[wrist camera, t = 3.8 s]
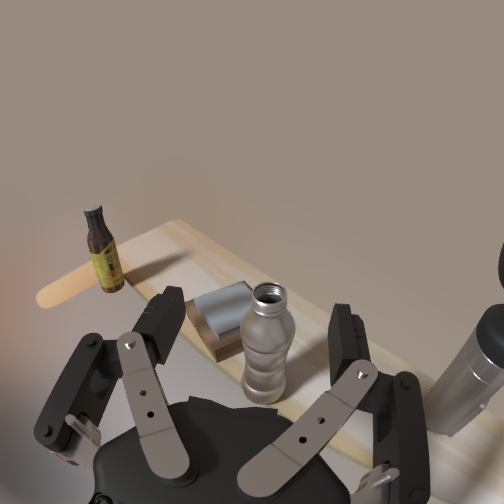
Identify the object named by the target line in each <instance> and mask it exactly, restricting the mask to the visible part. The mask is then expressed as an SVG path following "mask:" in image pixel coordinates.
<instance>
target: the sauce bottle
mask: <svg viewBox="0 0 504 504" xmlns="http://www.w3.org/2000/svg"><path fill="white" fill-rule="evenodd" d="M102 211H103V210H102V206H101V205H100V204H94V205H91V206H88V207H87V208H85V209H84V213H85V216H86V218H87V222H88V228H89V233H88V237H87V243H88V246H89V251H90V255H91V258H92V262H93V265H94V268H95V271H96V274H97V277H98V280H99V283H100V285H101V287H102V289H103V291H104V292H107V293H114V292H116V291H119V290H120V289H122V287H123V286H124V275H123V272H122V268H121V265H120V261H119V257H118V253H117V249H116V245H115V241H114V238H113V236H112V234H111V233H110V231H109V230H108V228H107V226H106V225H105V222H104V219H103V215H102Z"/></svg>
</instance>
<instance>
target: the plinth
mask: <svg viewBox="0 0 504 504" xmlns="http://www.w3.org/2000/svg"><path fill="white" fill-rule="evenodd" d="M252 291H253V289H252V288H251V287H250V286H249V285H248V284H247V283H246V282H245V281H240V282H237V283H235V284H232V285H229V286H227V287H224V288H221V289H218V290H216V291H213V292H210V293H207V294H204V295H202V296H199V297H196V298H194V299H192V300H190V301H187V302H185V307H186V312H187V316H188V317H189V319H190V321H191V322H192V324H193V326H194V327H195V329H196V331H197V332H198V334H199V335H200V337H201V339H202V340H203V342H204V343H205V345H206V347H207V348H208V350H209V351H210V353H211V354H212V356H213V357H214V359H215V360H216V362H217V363H218V362H220V361H222V360H225V359H227V358H229V357H231V356H233V355H236V354H238V353H240V352H242V351H244V348H243V344H242V340H241V335H240V324H241V322H242V319H243V316H244V315H245V313H246V312H247V311H248V310H249V309H250V308H251V300H252Z"/></svg>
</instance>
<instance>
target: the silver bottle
mask: <svg viewBox="0 0 504 504" xmlns="http://www.w3.org/2000/svg"><path fill="white" fill-rule="evenodd" d="M240 335H241V340H242V344H243V348H244V353H245V370H244V373H243V376H242V383H241V385H242V389H243V391H244V394H245V396H246V397H247V398H248V399H249V400H250V401H252V402H253V403H256V404H260V405H266V404H270V403H273V402H275V401H276V400H278V399H279V398H280V396H281V395H282V393H283V392H284V390H285V387H286V375H285V362H286V358H287V354H288V351H289V348H290V346H291V343H292V341H293V338H294V335H295V323H294V319H293V317H292V315H291V313H290V312H289V311H288V310H287V291H286V289H285V287H284V286H282V285H281V284H279V283H276V282H263V283H260V284H258V285H256V286H255V287H254V289H253V291H252V300H251V308H250V309H249V310H248V311H247V312H246V313H245V315H244V316H243V319H242V322H241V324H240Z"/></svg>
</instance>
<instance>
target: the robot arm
mask: <svg viewBox="0 0 504 504" xmlns="http://www.w3.org/2000/svg"><path fill="white" fill-rule="evenodd" d="M498 272H499V279H500V282H501V285H502V286H503V288H504V244H503V247H502V249H501V253H500V257H499V265H498ZM185 315H186V307H185V302H184V296H183V291H182V288H181V287H174V286H167V287H166V289H165V290H164V292H163V294H157V295H156V296H154V297H153V298H152V299H151V300H150V302H149V303H148V305H147V307H146V308H145V310H144V312H143V313H142V315H141V316H140V318H139V319H138V321H137V323H136V325H135V326H134V328H133V330H132V331H131V332H127V333H124V334H123V335H121V336H120V337H119V338H118V340H103V338H102V336H101V335H100V334H98V333H89V334H87V335H85V336H84V337H83V338H82V339H81V341H80V342H79V344H78V345H77V347H76V349H75V351H74V352H73V354H72V356H71V357H70V359H69V361H68V363H67V364H66V366H65V368H64V370H63V372H62V373H61V375H60V377H59V379H58V381H57V382H56V384H55V386H54V388H53V390H52V392H51V394H50V396H49V398H48V400H47V401H46V404H45V406H44V408H43V410H42V412H41V414H40V416H39V418H38V420H37V422H36V424H35V427H34V436H35V438H36V440H37V441H38V442H39V443H40V444H42V445H43V446H44V447H46V448H47V449H48V450H49V451H50V452H52V453H53V454H55V455H56V456H58V457H59V458H61V459H63V460H65V461H67V462H68V463H70V464H72V465H81V466H84V467H85V468H88V469H90V470H92V471H93V472H94V479H95V490H94V495H93V497H92V499H91V501H90V502H89V503H88V504H426V503H427V502H428V500H429V498H430V465H429V450H428V439H427V430H426V427H427V428H428V429H429V430H430V431H432V432H434V433H437V434H446V435H448V436H449V437H452V436H453V435H454V434H456V433H457V432H458V431H459V430H461V429H462V428H463V427H464V426H466V425H467V424H468V423H469V422H470V421H472V420H473V419H474V418H475V417H476V416H477V415H479V414H480V413H481V412H482V411H483V410H484V409H485V407H486V406H487V404H488V402H489V400H490V398H491V397H492V396H493V395H494V394H495V393H496V392H497V391H498V390H499V389H500V388H501V387H502V386H503V385H504V304H496V305H493V306H491V307H490V308H488V309H487V310H486V312H485V313H484V314H483V316H482V318H481V319H480V321H479V323H478V324H477V326H476V328H475V329H474V331H473V332H472V334H471V336H470V337H469V338H468V340H467V341H466V343H465V345H464V346H463V347H462V349H461V350H460V352H459V353H458V355H457V356H456V357H455V359H454V360H453V361H452V363H451V364H450V365H449V367H448V368H447V369H446V371H445V372H444V373H443V374H442V376H441V377H440V378H439V379H438V381H437V382H436V383H435V384H434V385H433V387H432V388H431V389H430V390H429V391H428V393H427V394H426V395H425V396H424V398H423V399H422V395H421V390H420V384H419V381H418V379H417V377H416V376H415V375H414V374H412V373H410V372H406V371H404V372H400V373H398V374H397V375H396V376H391V375H388V374H384V373H381V372H379V371H378V370H377V368H376V366H375V365H374V364H373V363H371V360H370V354H369V348H368V343H367V338H366V333H365V328H364V323H363V321H362V320H361V318H360V317H359V315H354V314H353V315H352V314H351V310H350V305H349V304H336V303H335V305H334V308H333V312H332V315H331V319H330V323H329V327H328V344H329V361H330V383H331V389H330V390H329V391H325V392H324V393H323V394H322V395H321V396H320V397H319V398H318V399H317V400H316V401H315V402H314V404H313V405H312V406H311V407H310V408H309V409H308V410H307V411H306V412H305V413H304V414H303V415H302V416H301V417H300V418H299V419H298V420H297V421H296V422H295V423H293V422H292V421H290V420H289V419H287V418H285V417H283V416H280V415H277V412H278V409H271V408H261V407H248V408H236V409H232V408H228V407H226V406H224V405H221V404H219V403H216V402H214V401H211V400H207V399H203V398H197V397H192V396H189V399H188V401H185V402H178V403H175V404H172V405H169V403H168V401H167V399H166V396H165V394H164V391H163V389H162V386H161V384H160V381H159V378H158V376H157V373H156V370H155V367H156V364H157V363H159V364H163V365H164V364H165V362H166V359H167V357H168V355H169V353H170V350H171V348H172V346H173V343H174V341H175V339H176V337H177V335H178V332H179V330H180V328H181V326H182V324H183V321H184V319H185ZM118 378H122V380H123V384H124V388H125V391H126V395H127V398H128V402H129V405H130V409H131V412H132V415H133V418H134V421H135V424H136V426H135V427H133V428H131V429H130V430H128V431H126V432H125V433H123V434H121V435H119V436H118V437H116V438H114V439H112V440H111V441H109V442H107V443H105V444H104V445H102V446H101V445H100V444H101V432H100V430H99V429H98V426H99V423H100V421H101V418H102V416H103V413H104V411H105V408H106V406H107V404H108V401H109V399H110V396H111V394H112V392H113V389H114V387H115V385H116V382H117V380H118ZM356 409H358V410H361V411H365V412H368V413H372V414H373V469H372V470H371V471H369V472H368V473H366V474H365V475H364V476H363V477H362V479H361V481H360V484H359V487H358V489H357V491H356V492H355V493H354V494H349V491H348V489H347V488H346V486H345V485H344V484H343V483H342V481H341V480H340V479H339V478H338V477H337V475H336V474H335V473H334V472H333V471H332V469H331V468H330V467H329V466H328V464H327V463H326V462H325V461H324V459H323V458H322V457H321V456H320V454H319V453H320V452H321V451H322V450H323V449H324V448H325V447H326V445H327V444H328V443H329V442H330V441H331V440H332V438H333V437H334V436H335V435H336V434H337V432H338V431H339V430H340V429H341V428H342V426H343V425H344V424H345V423H346V421H347V420H348V419H349V418H350V416H351V415H352V414H353V413H354V411H355V410H356Z"/></svg>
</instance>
